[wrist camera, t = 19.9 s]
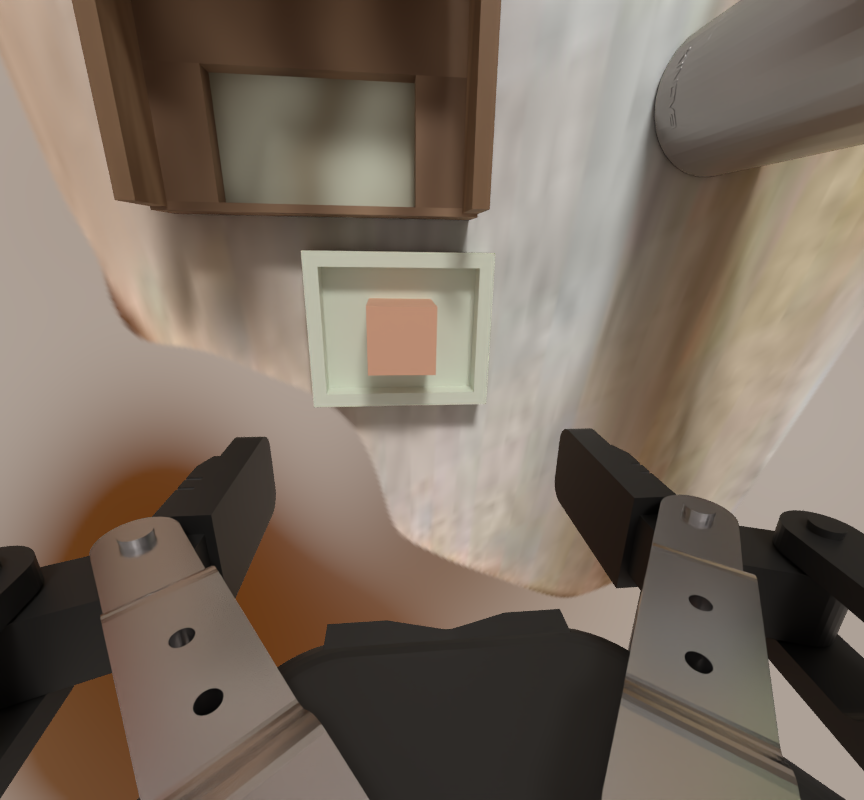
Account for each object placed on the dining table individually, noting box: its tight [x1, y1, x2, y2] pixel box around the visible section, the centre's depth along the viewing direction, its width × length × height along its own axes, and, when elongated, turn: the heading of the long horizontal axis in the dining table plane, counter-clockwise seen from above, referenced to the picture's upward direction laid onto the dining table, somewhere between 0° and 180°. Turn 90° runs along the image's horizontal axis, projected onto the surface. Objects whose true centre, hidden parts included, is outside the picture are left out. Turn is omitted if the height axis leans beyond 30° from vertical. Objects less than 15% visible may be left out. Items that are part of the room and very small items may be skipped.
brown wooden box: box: [72, 0, 501, 220], centre depth 23 cm, size 20×20×6 cm
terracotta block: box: [366, 298, 437, 376], centre depth 30 cm, size 4×4×4 cm
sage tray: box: [301, 250, 495, 407], centre depth 31 cm, size 13×11×2 cm
